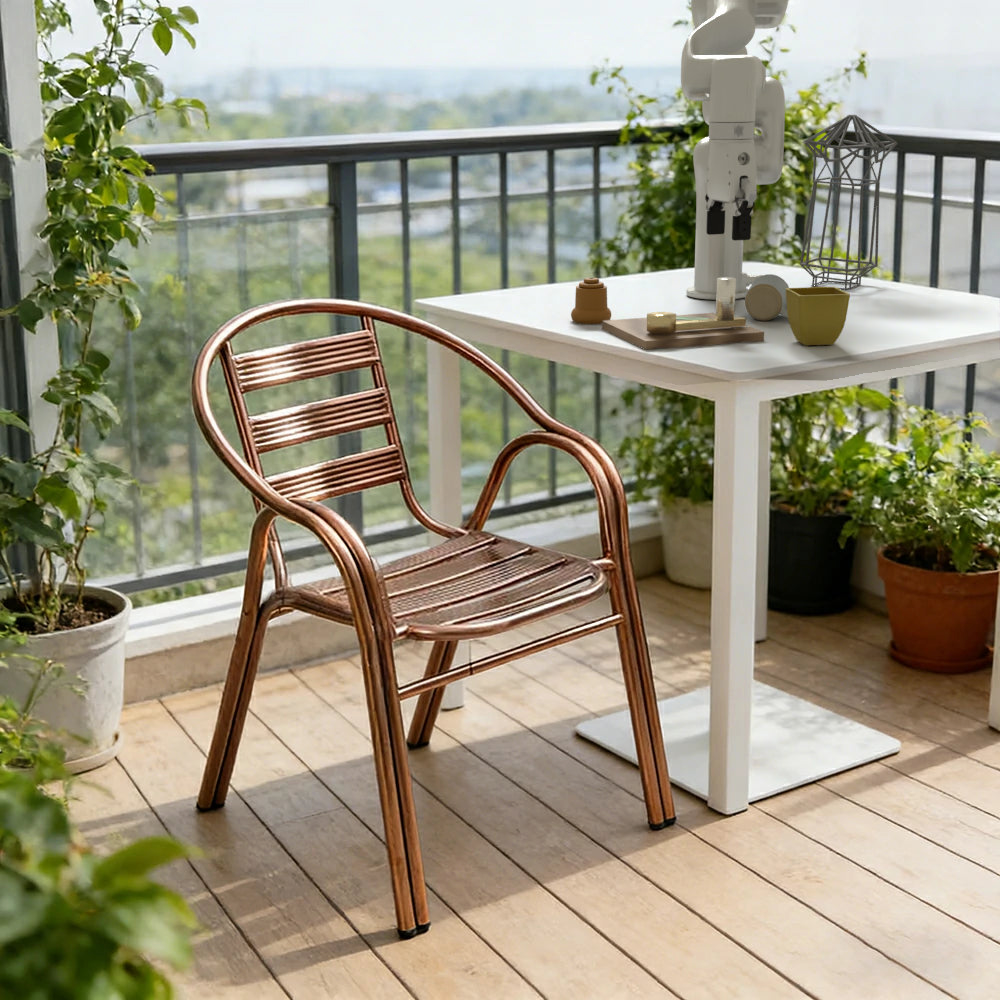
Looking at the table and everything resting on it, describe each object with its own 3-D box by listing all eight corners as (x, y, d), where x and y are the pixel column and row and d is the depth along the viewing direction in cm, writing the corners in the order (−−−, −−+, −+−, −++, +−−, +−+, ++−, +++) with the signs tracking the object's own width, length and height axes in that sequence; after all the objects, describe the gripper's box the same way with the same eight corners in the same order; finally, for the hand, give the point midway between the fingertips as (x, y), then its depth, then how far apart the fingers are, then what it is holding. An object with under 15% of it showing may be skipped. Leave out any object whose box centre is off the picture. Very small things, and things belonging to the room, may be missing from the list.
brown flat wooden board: (712, 320, 262) (713, 312, 261) (763, 340, 244) (764, 331, 243) (601, 328, 256) (601, 320, 255) (645, 349, 237) (645, 340, 237)
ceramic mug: (741, 321, 261) (744, 279, 259) (749, 313, 269) (751, 272, 266) (800, 325, 258) (803, 282, 256) (805, 317, 265) (808, 276, 263)
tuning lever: (653, 334, 240) (654, 286, 237) (642, 329, 244) (642, 281, 242) (749, 327, 245) (751, 279, 242) (736, 322, 249) (738, 275, 247)
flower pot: (782, 339, 245) (784, 287, 242) (831, 337, 246) (834, 285, 243) (796, 349, 237) (799, 295, 234) (847, 347, 237) (851, 294, 234)
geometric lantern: (817, 278, 308) (831, 112, 297) (887, 286, 299) (903, 115, 289) (786, 287, 296) (799, 114, 285) (858, 295, 287) (874, 117, 276)
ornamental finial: (588, 326, 258) (562, 321, 264) (619, 321, 262) (593, 316, 268) (588, 283, 256) (562, 278, 262) (620, 278, 260) (593, 274, 266)
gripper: (776, 134, 229) (772, 241, 234) (728, 131, 245) (725, 231, 250) (734, 135, 227) (730, 243, 232) (689, 132, 243) (686, 233, 248)
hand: (728, 237), depth 241 cm, fingers open, 9 cm apart
